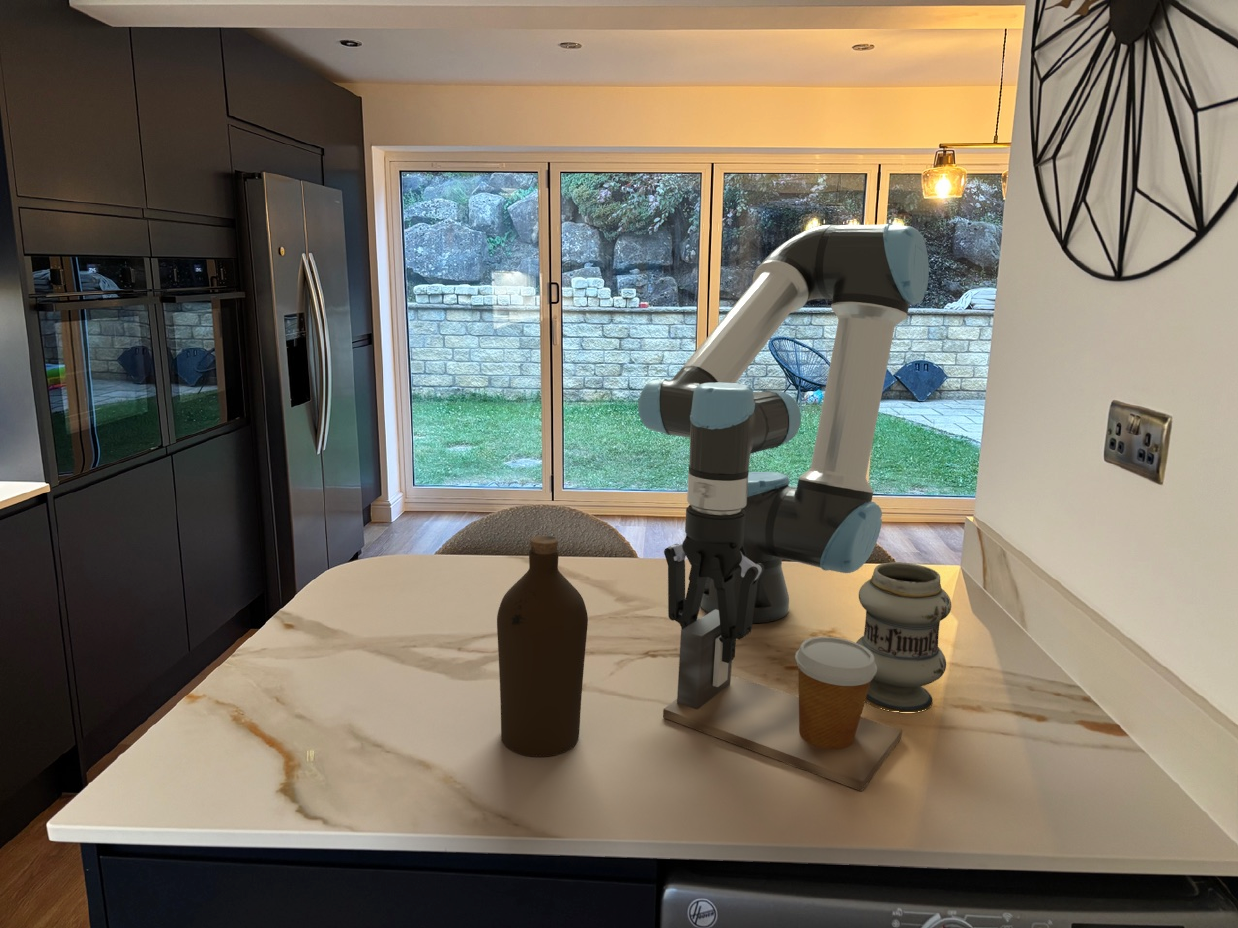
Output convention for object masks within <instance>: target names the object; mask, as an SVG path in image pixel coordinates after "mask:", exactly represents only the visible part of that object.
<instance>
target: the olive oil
mask: <svg viewBox="0 0 1238 928" xmlns="http://www.w3.org/2000/svg"><path fill="white" fill-rule="evenodd" d="M529 543H530V549H529V552H528V557H529V558H528V564H529V567H528V570H527V572H525V573H524V574H523V575H522V577H520V578H519V579H518V580H517V582H515V583H514V584H513V585H512V586H511V587H510V588H509V589H508V590H507V591H506V592H505V594H504V595H503V597H502V599H501V602H500V604H499V607H498V611H497V616H496V630H497V631H496V632H497V652H498V653H497V654H498V670H499V671H498V673H499V675H498V676H499V695H500V696H499V697H500V699H499V700H500V735H501V742H502V743H503V744H504V746H506V747H507V748H508V750H511V751H512V752H514V753H517V754H519V755H523V756H528V757H537V758H538V757H541V758H542V757H551V756H556V755H559V754H563V753H565V752H568V750H570V749H571V748H573V747H574V746H575V745H576V744H577V742H578V741H579V738H580V726H581V709H582V694H583V693H582V692H583V683H584V681H583V680H584V672H585V671H584V669H585V659H586V649H587V648H586V647H587V645H586V644H587V635H588V627H589V626H588V625H589V622H588V621H589V619H588V618H589V617H588V611H587V610H588V609H587V607H586V603H585V600H584V597H582V594H581V593H580V592H579V590H578V589H576V588H575V586H574V585H573V584H572V583H571V582H570V581H569V580H568V579H567V578H566V577H565V576H564V575H563V574H562V573H561V572H560V570H559V554H560V553H559V552H560V551H559V549H558V545H559V540H558V538H556V537H554V536H551V535H537V536H533V537H532V538H530V542H529Z"/></svg>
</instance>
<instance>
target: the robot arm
mask: <svg viewBox="0 0 1238 928" xmlns="http://www.w3.org/2000/svg"><path fill="white" fill-rule="evenodd" d="M927 250H928V249H927V245H926V242H925V240H924V237H923V235H922V234H921V232H920V231H919V230H918V229H917V228H915V227H913V226H911V225H894V224H891V223H886V224H823V225H819V226H814V227H812V228H808V229H805V230H804V231H802V232H799V233H797V234H796V235H794V236H793V237H791V238H789V239H788V240H786V241H785V242H783V243H782V244H780V245H779V246H778V247H776V248H775V249H774V250H773V251H772V252H770V253H769V255H768V256H767V257H765V259H763V261H762V262H761V263H760V264H759V265H758V267H757V268H755V271H754V273H753V277H752V283H751V285H750V286H749V287H748V288H747V289H746V291H745V292H744V293H743V294H742V295H741V296H740V298H739V299H738V300H737V302H736V303H735V304H734V305H733V306H732V307H731V308H730V310H729V311H728V312H727V313H726V314H725V316H724V317H723V318H722V319H721V321H719V323H718V324H717V325H716V326H715V328H714V329H713V330H712V331H711V332H710V334H709V335H708V336H707V337H706V338H705V339H704V341H703V342H702V343H701V344H700V345H699V346H698V348H697V349H696V350H695V352H694V353H693V354H692V355H691V356H690V358H689V359H687V361H686V362H685V363H684V364H683V366H681V368H680V369H679V371H678V372H677V373H676V374H674V375H675V376H673V378H672V379H669V380H668V379H667V378H662V379H654V380H651V381H649V382H647V383H646V384H645V386H643V388H642V390H641V392H640V395H639V399H638V405H637V406H638V408H637V410H638V411H637V412H638V415H639V417H640V421H641V423H642V425H644V426H645V428H647V429H648V430H650V431H654V432H657V433H661V434H664V435H667V436H675V437H676V436H677V437H683V438H688V439H690V440H689V464H688V472H687V473H688V475H687V492H686V495H687V496H686V502H687V503H688V506H687V507H686V509H685V525H684V533H685V538H684V540H683V541H682V543H680V544H679V543H674V544H672V545H670V546H668V547H666V548H664V549H663V553H664V557H665V560H666V564H667V599H668V601H667V603H668V604H667V609H668V610H667V611H668V613H667V614H668V615H667V616H668V619H669V620H670V621H672V622H673V621H675V622H676V623H678V624H679V625H680V627H681V629H680V631H681V630H682V629H684V628H685V627H687V626H689V625H690V624H692V623H694V622H695V621H697V620H699V619H700V618H698V617H699V614H700V613H699V611H700V608H701V609H702V610H703V611H705V612H706V613H707V614H708V613H710V612H712V611H713V610H715V609H716V610H719V618H720V628H721V636H719V637H718V638H716V640H715V656H714V672H713V686H715V687H719V686H720V685H721V684H723V683H724V682H725V681H726V680H727V678H728V663H730V662H731V661H732V662H733V660H735V657H736V647H737V645H736V644H737V640H743V639H744V638H745V637H746V636H748V635H749V634H751V632H752V628H753V624H759V623H769V622H775V621H778V620H780V619H782V618H784V617H786V616H787V614H788V613H789V607H790V597H789V596H790V595H789V591H788V587H787V583H786V580H785V575H784V571H783V567H782V564H783V559H784V560H788V561H792V562H796V563H799V564H802V565H803V564H804V565H808V566H812V567H815V568H819V569H821V570H822V571H825V572H826V571H827V572H828V571H832V572H836V573H841V574H851V573H854V572H857V571H859V569H860V568H862V567H863V566H864V565H865V564H866V562H867V560H869V558H870V556H871V555H872V553H873V551H874V550H875V546H876V545H877V542H878V539H879V536H880V533H881V529H882V522H883V519H882V516H883V513H882V508H881V507H880V505H879V504H876V502H874V501H872V500H873V495H874V490H873V487H872V486H871V484H870V483H869V481H868V480H867V473H868V468H869V463H870V462H869V461H870V458H871V452H872V447H873V443H874V442H873V441H874V437H875V431H876V426H877V422H878V418H879V417H878V416H879V412H880V411H879V410H880V406H881V405H880V404H881V402H882V401H881V400H882V396H883V395H882V394H883V390H884V384H885V381H886V380H885V379H886V376H887V375H886V374H887V368H888V363H889V358H890V353H891V349H892V343H893V338H894V333H895V329H896V327H897V326H898V325H900V323H902V322H903V321H904V320H906V319H907V317H908V313H909V308H910V305H911V306H914V305H917V304H919V303H921V302H922V301H923V300H924V297H925V295H926V294H927V290H928V284H929V279H930V277H929V275H930V273H929V271H930V270H929V269H930V268H929V267H930V266H929V264H930V262H929V256H928V255H929V254H928V251H927ZM817 299H825V300H827V299H828V300H831V305H830V309H831V310H832V311H833V313H834V314H835V316H836V317H837V319H838V320H837V325H836V326H837V327H836V331H835V337H834V342H833V346H832V347H833V348H832V352H831V358H830V363H829V369H828V373H827V374H828V375H827V379H826V384H825V389H824V390H825V391H824V395H823V400H822V405H821V410H820V416H819V422H818V426H817V427H818V428H817V433H816V436H815V442H814V448H813V453H812V454H813V455H812V459H811V464H810V468H809V469H808V470H807V471H805V472H804V473H803V474H801V475H800V476H799V477H798V479H797V480H798V481H797V486H796V487H793V486H789V485H790V484H791V483H790V480H789V476H788V474H784V473H782V472H776V471H775V472H774V471H750V460H751V455H752V454H754V453H759V452H761V451H762V452H763V451H765V450H770V449H771V450H772V449H775V448H777V449H778V448H779V447H781V446H782V445H784V444H786V443H788V442H790V441H791V440H793V439H794V438H795V436H796V435H797V434H798V432H799V429H800V428H801V423H802V414H801V409H800V407H799V405H798V403H797V401H796V400H795V399H794V397H792V396H791V395H790V394H788V393H786V392H785V391H782V390H769V389H765V390H763V391H760V392H759V391H753V389H752V387H751V386H749V385H747V384H741V383H737V381H738V380H739V379H740V378H741V377H742V375H743V374H744V373H745V371H746V370H747V369H748V367H749V366H750V365H751V363H752V362H753V361H754V359H756V357H757V356H758V355H759V353H760V352H761V351H762V349H763V348H764V347H766V344H767V343H768V342H769V341H770V340H771V338H772V336H773V335H774V334H775V333H776V331H777V330H778V329H779V327H780V326H781V325H782V324H783V323H784V321H785V320H786V319H787V317H788V316H789V315H790V314H791V313H795V312H798V311H799V310H801V309H802V308H803V307H804V306H805V305H806V304H807V302H809V301H812V300H817ZM686 558H687V560H688V563H689V564H690V570H689V571H690V572H689V575H688V580H689V581H688V582H689V583H688V585H687V591H686V562H685V559H686Z"/></svg>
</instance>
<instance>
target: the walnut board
mask: <svg viewBox="0 0 1238 928" xmlns="http://www.w3.org/2000/svg"><path fill="white" fill-rule="evenodd" d="M719 636H721V628H720V618H719V610H716V609H715V610H713V611H712V612H710V613H708V612H707V614H705V615H704V616H702V617H700V618H699V620H697V621H695V622H694V623H692V624H690V625H689V626H687V627H685V628H684V629H682V630H681V629H680V641H679V642H680V645H679V659H678V660H679V661H678V679H677V692H676V693H677V696H676V699H675V700H674V701H672V702H671V703H669V704H668V705H667V706H665V707H664V708H662V709H663V710H662V712H663V713H662V718H663V719H667V720H669V721H672V722H675V723H676V724H679V725H682V726H684V727H688V728H691V729H693V730H696V731H699V732H700V733H704V734H706V735H709V736H712V737H715V738H716V739H717V738H718V739H720V740H723V741H726V742H729V743H730V744H734V745H736V746H738V747H739V746H740V747H741V748H744V749H747V750H750V751H753V752H754V753H758V754H761V755H764V756H767V757H768V758H771V759H773V760H776V761H779V762H783V763H785V764H788V765H790V766H793V767H796V768H799V769H800V770H804V771H806V772H809V773H812V774H815V775H818V776H820V777H823V778H826V779H828V780H831V781H833V782H837V783H839V784H842V785H844V786H847V787H849V788H852V789H856V790H858V791H861V792H863V790H864V789H865V787H866V786H867V785H868V783H870V781H871V780H872V778H873V777H874V775H875V774H876V773H877V772H878V770H879V769H880V768H881V766H882V765H883V764H884V762H885V761H886V759H888V757H889V756H890V754H891V753H892V752H891V751H894V749H895V748H894V747H896V746H897V745H898V744H897V742H898V743H899V742H900V741H901V740H900V739H902V735H903V734H902V733H903V730H902V729H899V728H897V727H893V726H890V725H887V724H883V723H881V722H877V721H874V720H873V719H872V720H871V719H869V718H865V717H863V716H861V717H860V721H859V724H858V727H857V731H856V735H855V738H854V741H853V743H852V744H851V745H850V746H848V747H845V748H842V749H827V748H821V747H818V746H815V745H812V744H810V743H808V742H807V741H806V740H804V739H803V738H802V737H801V735H800V733H799V695H798V696H797V695H794V694H791V693H787V692H785V691H781V690H779V689H776V688H773V687H769V686H766V685H763V684H760V683H757V682H754V681H751V680H747V679H746V678H742V677H739V676H736V675H732V666H733V660H732V661H731V662H730V663H728V678H727V680H726V681H725V682H724V683H723V684H721V685H720V686H719V687H715V686H713V672H714V656H715V640H716V638H718V637H719ZM899 740H900V741H899ZM896 744H897V745H896ZM893 748H894V749H893Z"/></svg>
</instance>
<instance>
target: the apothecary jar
mask: <svg viewBox="0 0 1238 928" xmlns="http://www.w3.org/2000/svg"><path fill="white" fill-rule="evenodd" d="M872 573H873V574H872V576H871V578H869V579H868V580H867V581H865V582H864V583H863V584H862V585H861V587H860V588H859V590H858V601H859V603H860V605H861V606H862V607H863V609H865V622H864V632H863V635H862V636H861V637H860V638H858V640H856V642H855V643H858V644H860V645H862V646H864V647H865V648H867V649H868V650H869V651H871V653H872V654H873V656H874V661H875V664H876V666H877V672H876V674H875V675H874V677H873V679H872V680H871V682H870V686H869V689H868V693H867V696H866V699H865V703H867V704H869V705H871V706H873V707H875V708H877V709H879V708H882V709H885V710H889V711H899V712H918V711H922V710H925V709H927V710H929V709H930V708H931V707H932V705H933V698H932V695H931V693H929V691H928V690H927V689H925V688H924V686H927V685H930V684H931V683H934V682H936V681H937V680H939V679H940V678H941V677H942V676H943V675H944V673H945V672H946V669H947V660H946V657H945V654H944V652H943V651H942V649H941V648H940V647H939V634H940V625H941V621H943V620H944V619H946V618H947V617H948V616H949V615H950V613H951V610H952V600H951V597H950V596H949V594H948V593H947V592H946V591H945V590H944V589H943V588H942V585H941V575H940V574H939V572H937V571H936V570H935V569H933V568H930V567H927V566H924V565H921V564H915V563H910V562H902V561H901V562H896V561H894V562H893V561H892V562H884V563H880V564H878V565H877V566H875V568H874V569H873V572H872ZM930 706H931V707H930ZM929 707H930V708H929ZM928 708H929V709H928ZM882 709H881V710H882ZM885 710H884V711H885ZM889 711H888V712H889ZM925 711H926V710H925Z"/></svg>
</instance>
